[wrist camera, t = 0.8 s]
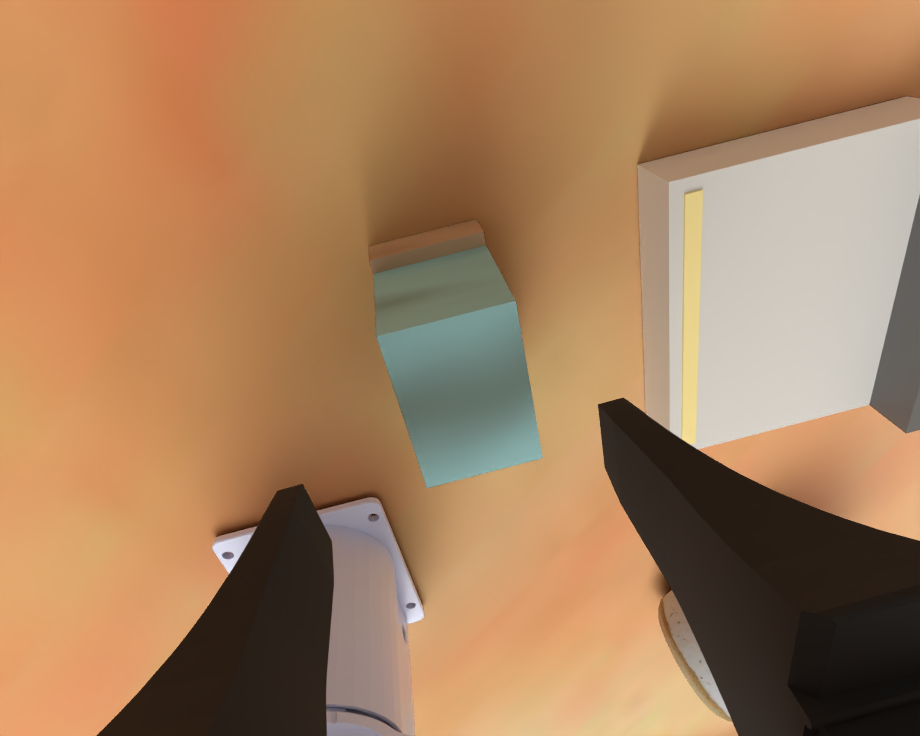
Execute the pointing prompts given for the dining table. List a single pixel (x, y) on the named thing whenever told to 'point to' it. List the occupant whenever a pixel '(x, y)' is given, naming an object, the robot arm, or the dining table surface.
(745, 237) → the dock
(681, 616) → the ceramic mug
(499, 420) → the teal rectangular block
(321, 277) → the dining table surface
